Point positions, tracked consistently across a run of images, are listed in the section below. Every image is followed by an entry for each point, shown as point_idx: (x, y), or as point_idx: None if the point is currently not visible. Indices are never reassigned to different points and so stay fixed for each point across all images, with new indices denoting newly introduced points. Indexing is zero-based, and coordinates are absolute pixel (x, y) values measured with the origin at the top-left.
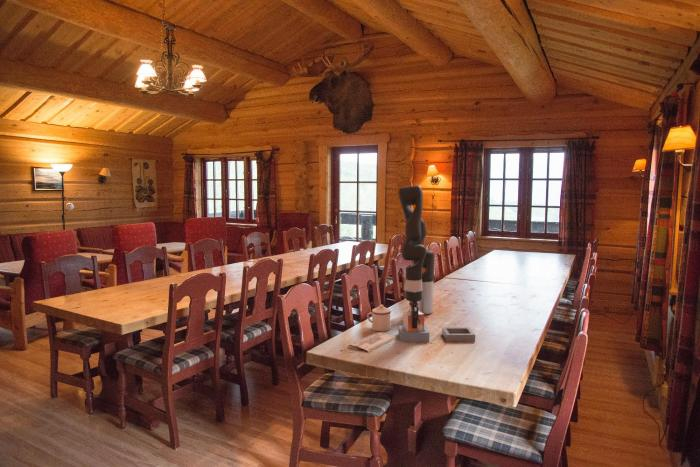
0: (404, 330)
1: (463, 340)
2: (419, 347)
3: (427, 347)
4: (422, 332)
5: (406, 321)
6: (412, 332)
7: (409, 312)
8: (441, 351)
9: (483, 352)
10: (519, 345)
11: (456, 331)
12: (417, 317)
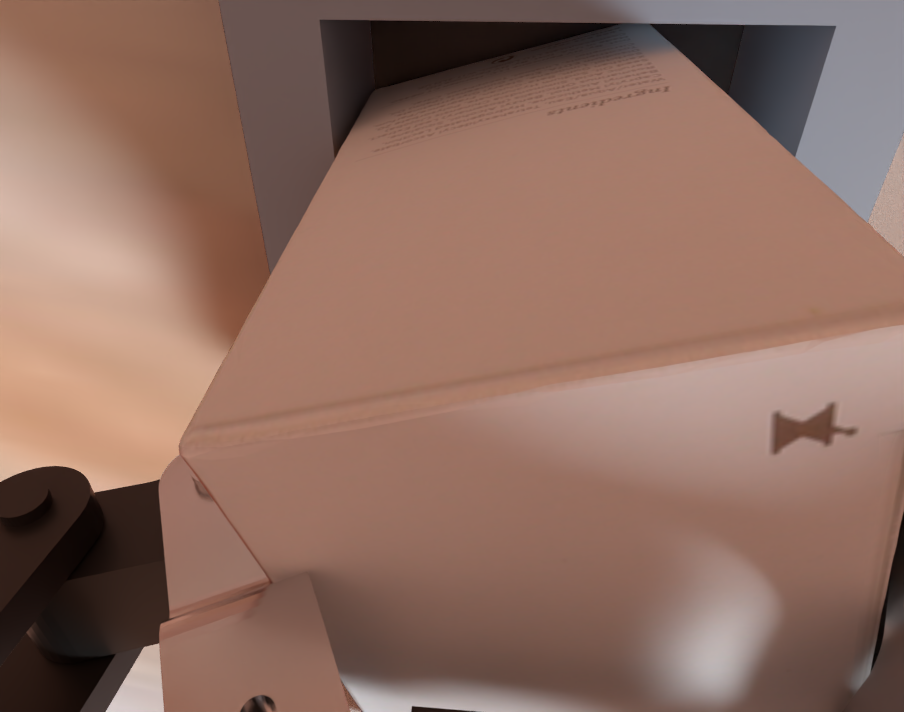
0: (574, 63)
1: None
2: (56, 234)
3: (96, 340)
4: None
5: (398, 222)
6: (284, 241)
7: (811, 578)
8: (8, 454)
9: (118, 696)
10: None
11: None
12: (2, 669)
